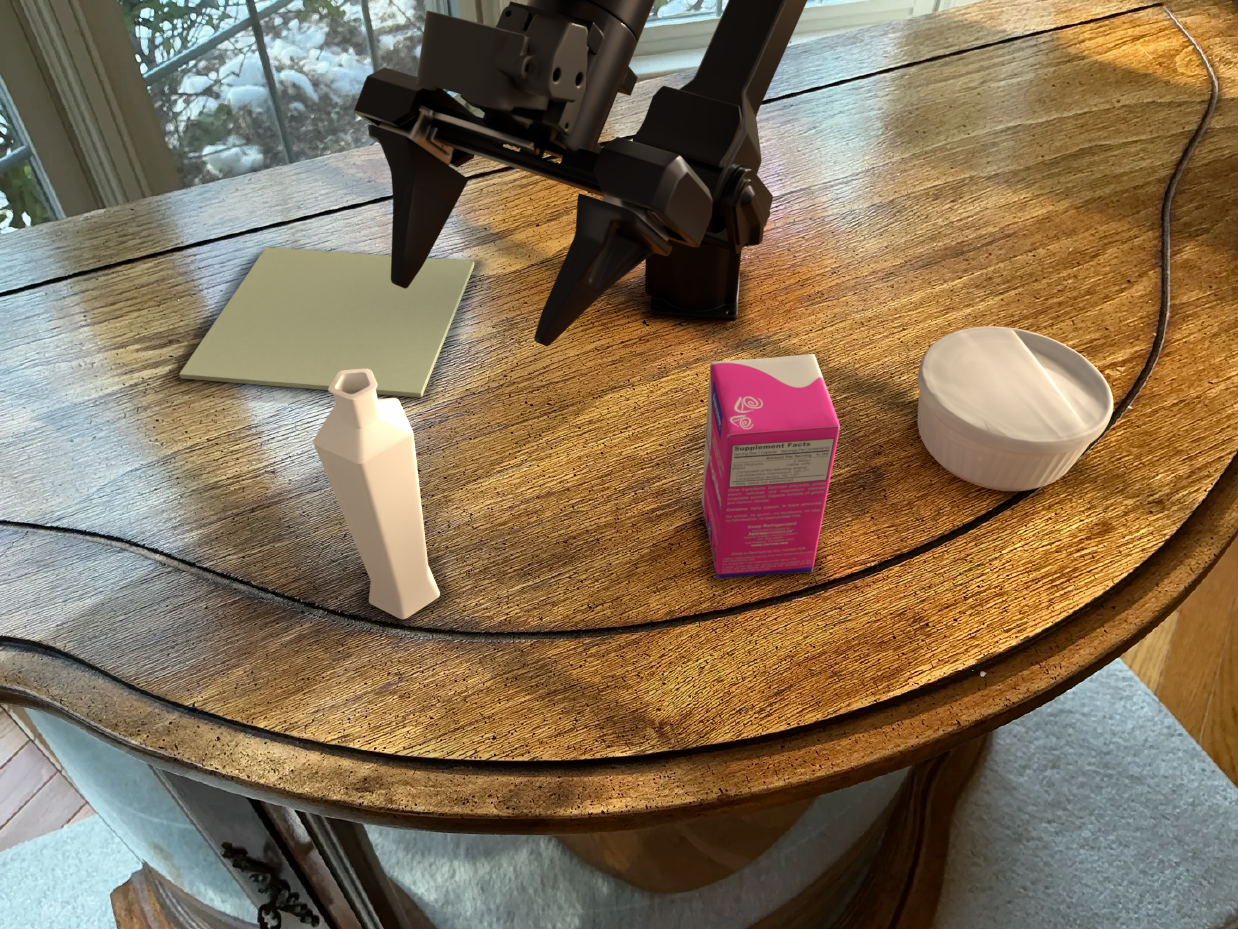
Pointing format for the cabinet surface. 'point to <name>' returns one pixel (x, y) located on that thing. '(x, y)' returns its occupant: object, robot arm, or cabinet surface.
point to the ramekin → (1009, 406)
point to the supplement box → (767, 464)
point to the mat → (331, 322)
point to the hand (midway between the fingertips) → (467, 313)
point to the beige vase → (378, 491)
